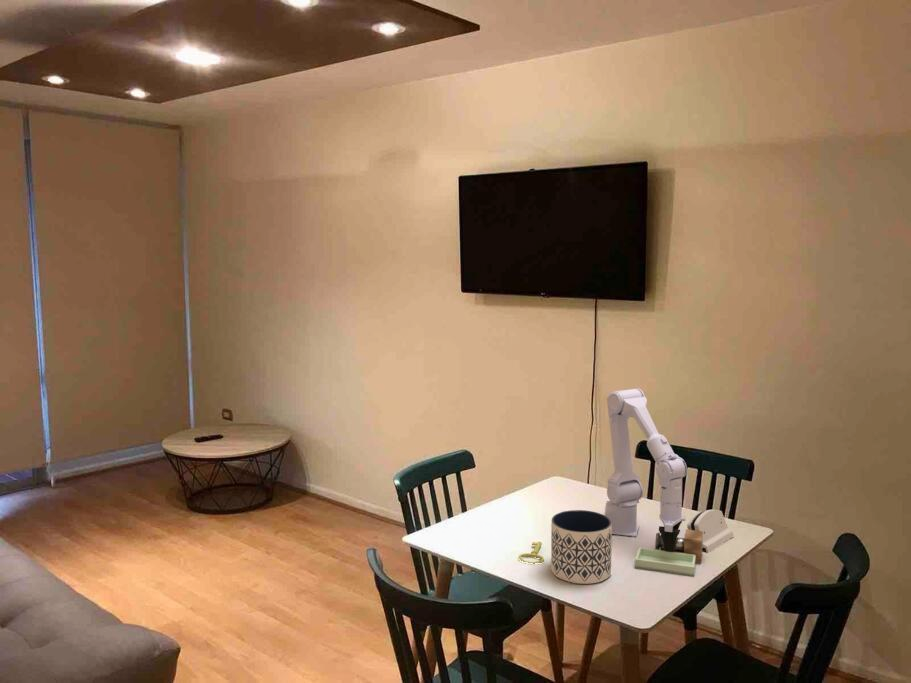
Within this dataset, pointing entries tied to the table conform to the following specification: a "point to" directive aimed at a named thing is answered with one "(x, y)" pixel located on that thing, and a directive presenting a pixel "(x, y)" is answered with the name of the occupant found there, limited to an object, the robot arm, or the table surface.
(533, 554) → the key
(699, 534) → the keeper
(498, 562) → the table surface
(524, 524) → the table surface
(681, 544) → the pin
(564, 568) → the planter
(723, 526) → the white curved plastic device
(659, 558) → the tray
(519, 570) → the table surface
